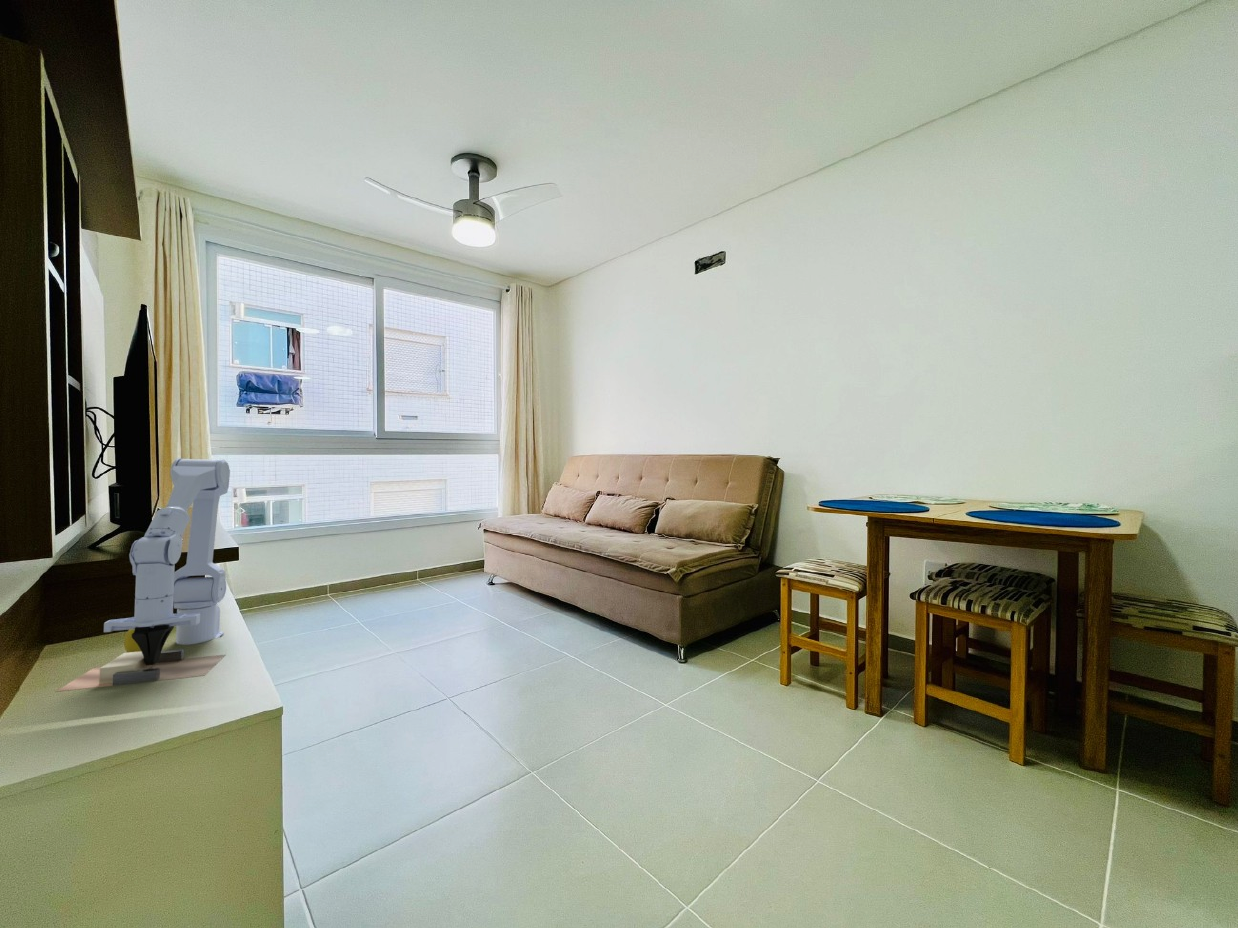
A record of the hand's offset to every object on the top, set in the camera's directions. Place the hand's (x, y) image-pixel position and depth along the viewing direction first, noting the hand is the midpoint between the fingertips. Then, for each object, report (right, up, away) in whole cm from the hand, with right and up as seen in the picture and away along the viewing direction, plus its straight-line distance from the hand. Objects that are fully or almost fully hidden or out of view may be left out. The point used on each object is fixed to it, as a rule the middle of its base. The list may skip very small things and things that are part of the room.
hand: (152, 663), depth 100 cm
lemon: (-11, -2, +9) cm, 14 cm away
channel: (0, -2, 0) cm, 2 cm away
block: (-3, -1, -2) cm, 4 cm away
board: (0, -2, 0) cm, 2 cm away
